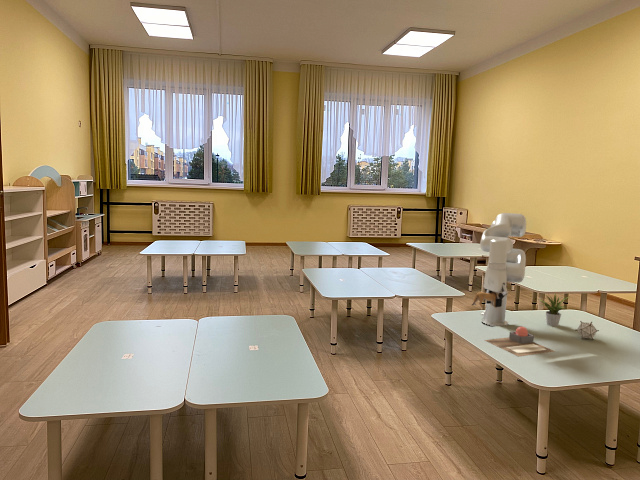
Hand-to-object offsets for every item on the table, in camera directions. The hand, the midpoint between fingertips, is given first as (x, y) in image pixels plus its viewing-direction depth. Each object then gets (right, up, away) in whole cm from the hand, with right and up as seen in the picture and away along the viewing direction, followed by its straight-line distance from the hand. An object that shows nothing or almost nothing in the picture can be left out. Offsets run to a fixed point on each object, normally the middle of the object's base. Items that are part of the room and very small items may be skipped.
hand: (493, 304), depth 218 cm
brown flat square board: (+6, -17, -14) cm, 23 cm away
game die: (+43, -16, +2) cm, 46 cm away
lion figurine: (-3, -1, +1) cm, 3 cm away
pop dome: (+9, -14, -8) cm, 19 cm away
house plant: (+39, -13, +22) cm, 46 cm away
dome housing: (+9, -15, -7) cm, 19 cm away
